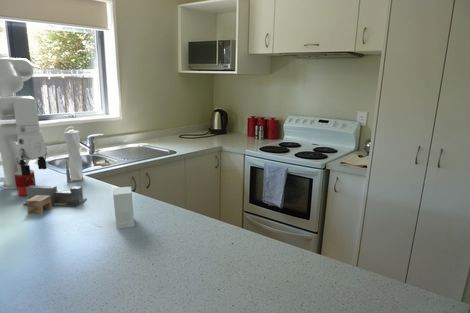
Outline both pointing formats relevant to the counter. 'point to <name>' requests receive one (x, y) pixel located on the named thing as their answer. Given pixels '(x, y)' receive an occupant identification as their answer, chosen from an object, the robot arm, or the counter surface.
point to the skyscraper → (73, 156)
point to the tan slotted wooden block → (38, 204)
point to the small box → (123, 207)
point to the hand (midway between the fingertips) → (34, 172)
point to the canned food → (23, 182)
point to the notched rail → (58, 195)
